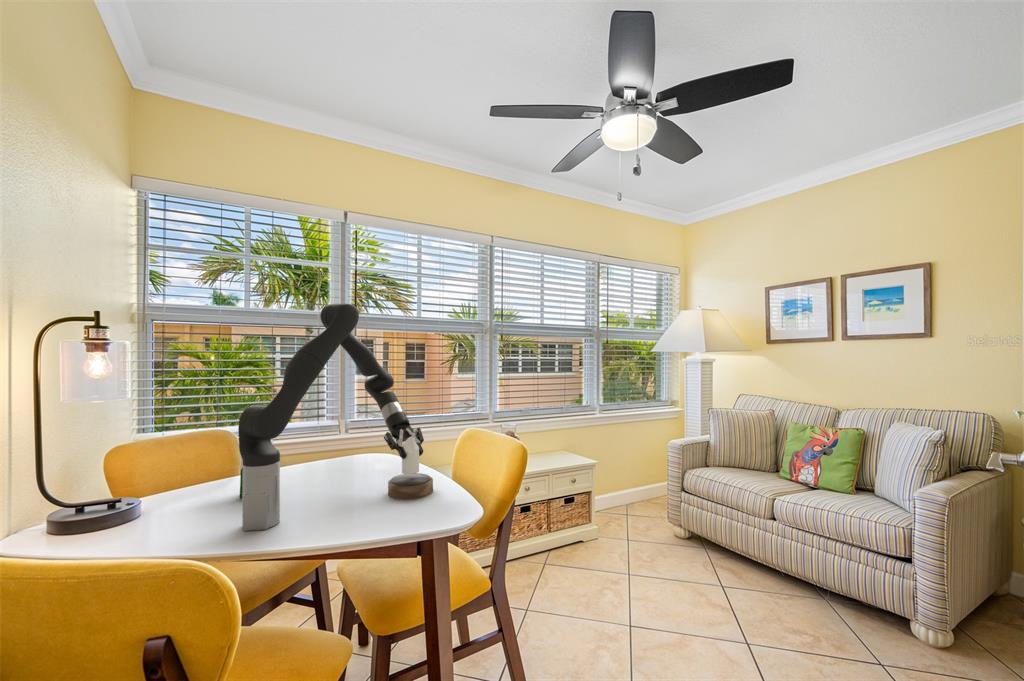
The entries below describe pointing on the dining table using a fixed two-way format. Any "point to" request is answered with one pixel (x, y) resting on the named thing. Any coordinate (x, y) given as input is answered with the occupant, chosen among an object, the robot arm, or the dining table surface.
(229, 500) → the dining table surface
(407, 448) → the white tall rounded piece
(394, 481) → the podium
